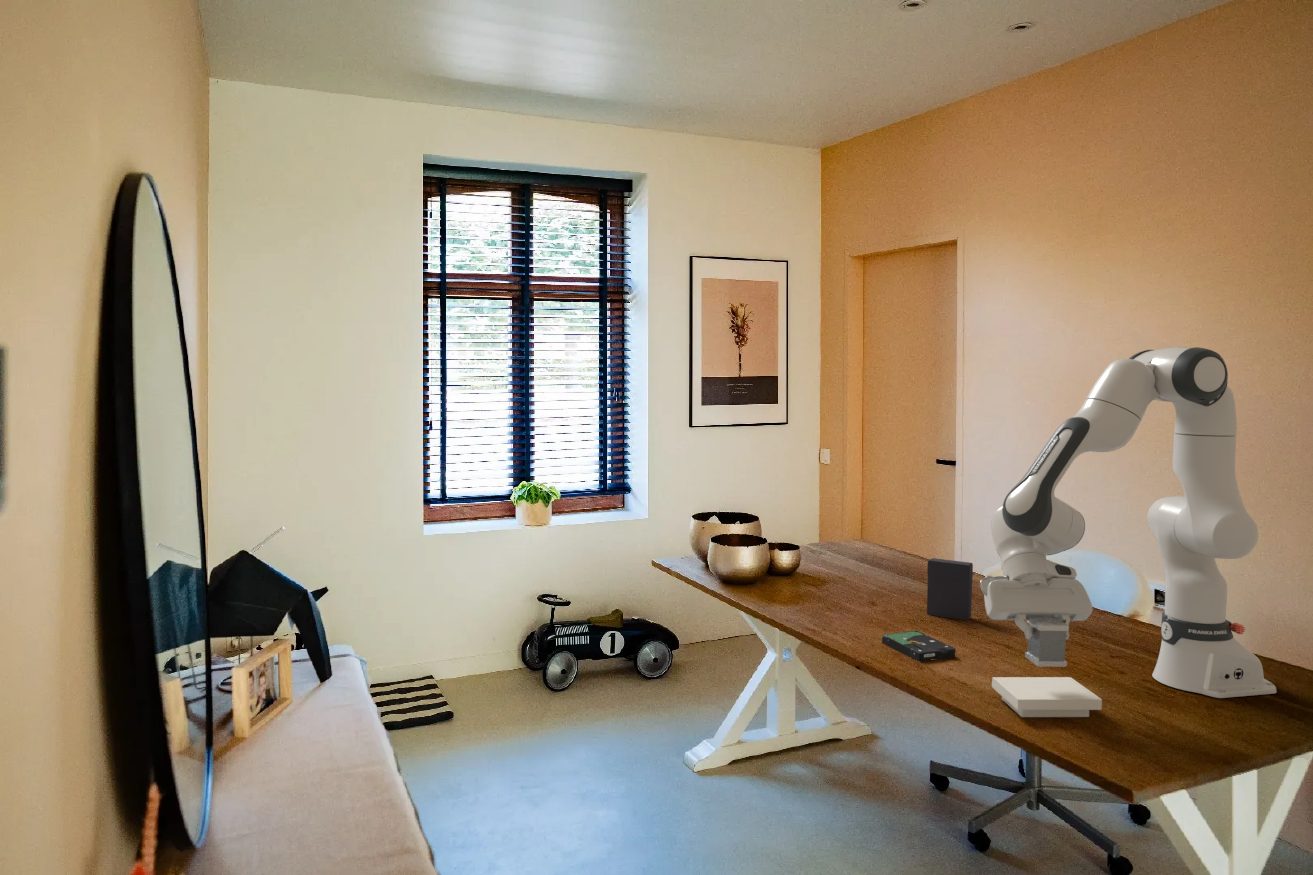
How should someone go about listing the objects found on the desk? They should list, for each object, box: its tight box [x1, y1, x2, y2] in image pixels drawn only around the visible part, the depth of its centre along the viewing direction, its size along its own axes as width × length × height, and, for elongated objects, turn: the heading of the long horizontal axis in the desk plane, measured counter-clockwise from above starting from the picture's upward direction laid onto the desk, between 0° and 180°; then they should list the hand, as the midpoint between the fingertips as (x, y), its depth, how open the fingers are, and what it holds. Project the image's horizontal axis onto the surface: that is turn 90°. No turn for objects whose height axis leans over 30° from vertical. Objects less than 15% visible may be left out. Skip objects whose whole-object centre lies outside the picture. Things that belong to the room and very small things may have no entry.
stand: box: [991, 676, 1103, 718], centre depth 171 cm, size 16×12×4 cm
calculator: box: [926, 557, 974, 621], centre depth 235 cm, size 11×4×15 cm, turn 58°
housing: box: [1024, 617, 1070, 668], centre depth 171 cm, size 6×6×8 cm
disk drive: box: [881, 630, 956, 662], centre depth 207 cm, size 10×3×15 cm
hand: (1048, 638), depth 170 cm, fingers closed on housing, 5 cm apart
